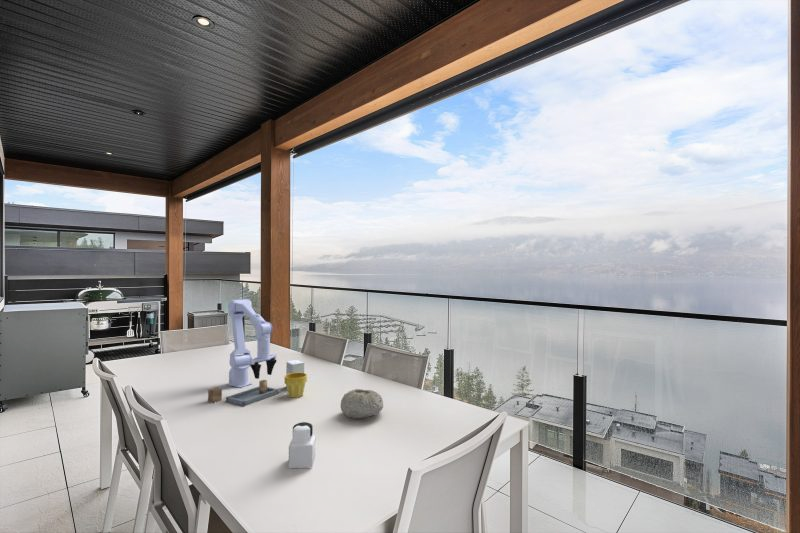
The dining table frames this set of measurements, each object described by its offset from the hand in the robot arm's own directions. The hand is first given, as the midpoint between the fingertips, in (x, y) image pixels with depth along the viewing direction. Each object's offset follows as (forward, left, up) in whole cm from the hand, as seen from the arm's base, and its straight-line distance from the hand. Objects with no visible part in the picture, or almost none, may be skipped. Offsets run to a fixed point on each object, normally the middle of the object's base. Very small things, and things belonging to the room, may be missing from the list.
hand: (263, 376), depth 185 cm
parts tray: (0, -6, -8) cm, 10 cm away
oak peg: (0, 0, -8) cm, 8 cm away
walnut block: (-11, -18, -8) cm, 23 cm away
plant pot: (+15, +6, -9) cm, 18 cm away
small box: (+6, +15, -9) cm, 18 cm away
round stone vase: (+56, +2, -9) cm, 57 cm away
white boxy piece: (+62, -40, -9) cm, 74 cm away
